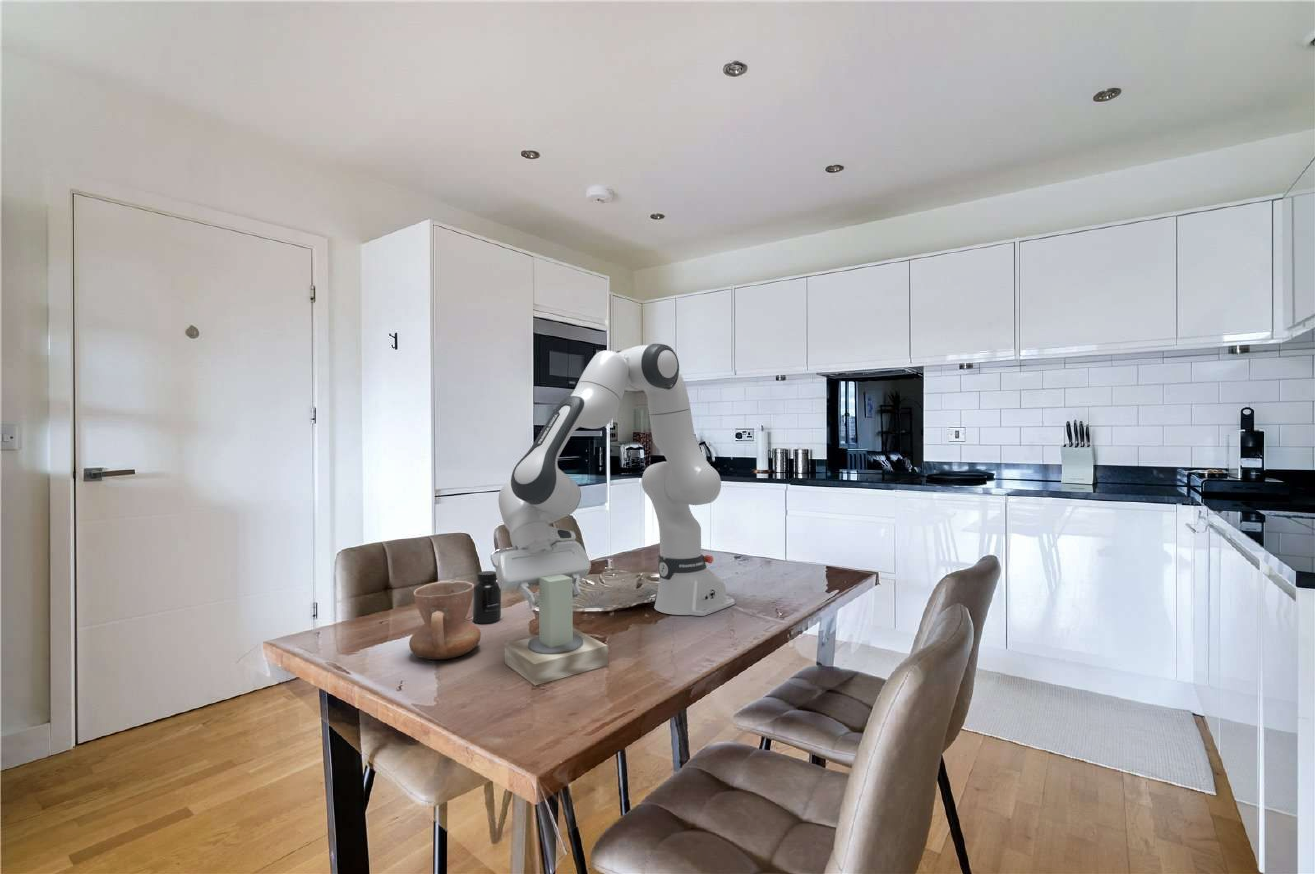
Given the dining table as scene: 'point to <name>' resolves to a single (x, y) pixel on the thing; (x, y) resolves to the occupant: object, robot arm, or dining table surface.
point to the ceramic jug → (444, 620)
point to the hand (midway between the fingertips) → (556, 599)
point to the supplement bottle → (486, 598)
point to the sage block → (555, 610)
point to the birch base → (555, 657)
